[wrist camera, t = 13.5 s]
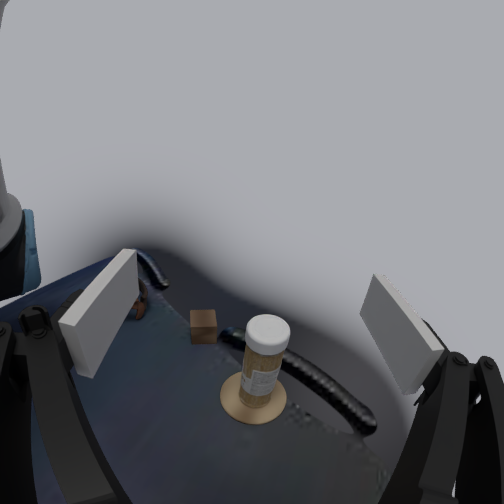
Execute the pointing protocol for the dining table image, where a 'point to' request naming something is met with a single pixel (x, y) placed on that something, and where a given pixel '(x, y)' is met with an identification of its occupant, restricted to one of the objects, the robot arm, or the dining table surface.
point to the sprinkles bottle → (262, 358)
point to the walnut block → (203, 327)
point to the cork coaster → (244, 412)
